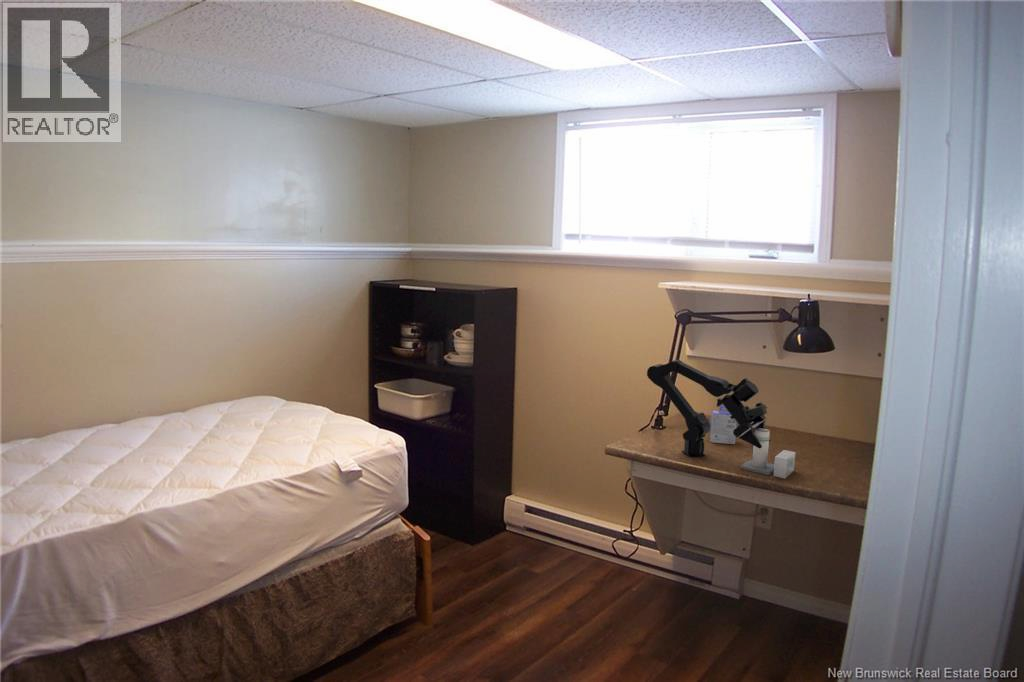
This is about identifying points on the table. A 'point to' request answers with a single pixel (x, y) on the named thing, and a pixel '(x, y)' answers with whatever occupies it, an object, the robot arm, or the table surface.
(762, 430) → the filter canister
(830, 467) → the table surface
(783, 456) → the block
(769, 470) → the dock mat
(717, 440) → the ink cartridge box
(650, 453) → the table surface
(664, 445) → the table surface
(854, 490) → the table surface
